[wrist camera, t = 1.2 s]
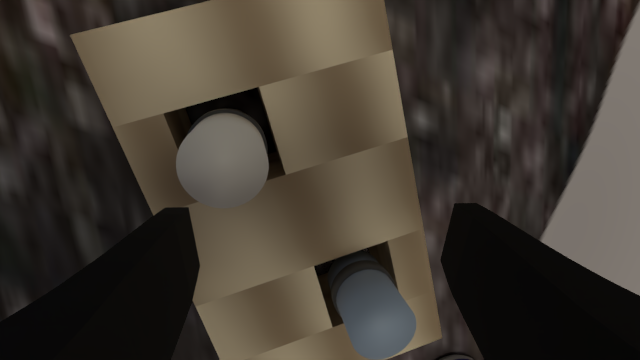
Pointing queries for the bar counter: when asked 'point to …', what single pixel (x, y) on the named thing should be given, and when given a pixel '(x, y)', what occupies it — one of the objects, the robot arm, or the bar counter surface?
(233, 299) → the beech block
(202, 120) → the white peg
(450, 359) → the energy drink
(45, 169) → the bar counter surface
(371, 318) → the blue peg
